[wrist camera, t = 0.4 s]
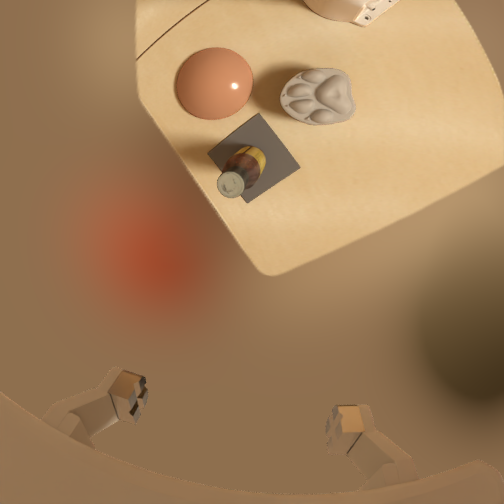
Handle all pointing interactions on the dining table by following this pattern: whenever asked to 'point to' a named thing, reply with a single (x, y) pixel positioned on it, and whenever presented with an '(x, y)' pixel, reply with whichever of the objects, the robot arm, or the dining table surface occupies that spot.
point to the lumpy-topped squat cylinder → (319, 97)
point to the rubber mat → (265, 140)
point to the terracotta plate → (214, 83)
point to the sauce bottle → (241, 171)
